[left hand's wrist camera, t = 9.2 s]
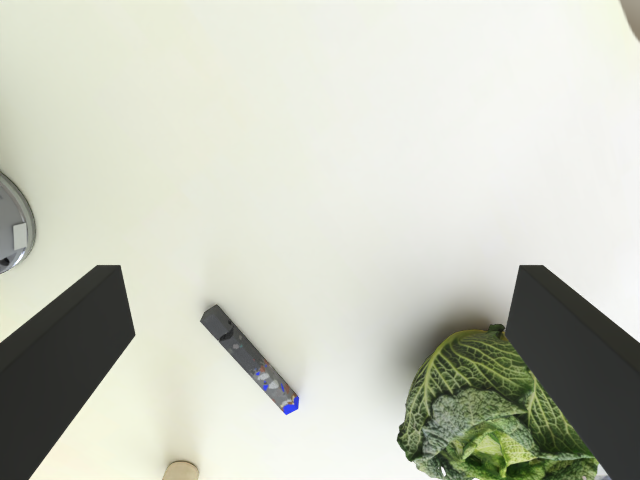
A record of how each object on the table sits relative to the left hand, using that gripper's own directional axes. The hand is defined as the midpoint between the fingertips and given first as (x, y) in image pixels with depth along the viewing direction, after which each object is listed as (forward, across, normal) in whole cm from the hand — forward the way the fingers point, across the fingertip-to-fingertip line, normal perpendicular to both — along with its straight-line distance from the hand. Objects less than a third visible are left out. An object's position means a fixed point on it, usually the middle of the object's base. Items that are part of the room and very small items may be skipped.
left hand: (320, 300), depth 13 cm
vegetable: (+34, -21, +30) cm, 50 cm away
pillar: (+34, +10, +30) cm, 46 cm away
